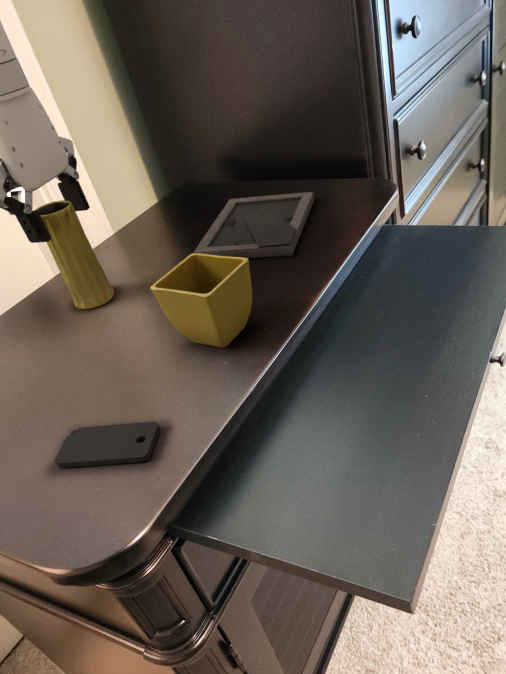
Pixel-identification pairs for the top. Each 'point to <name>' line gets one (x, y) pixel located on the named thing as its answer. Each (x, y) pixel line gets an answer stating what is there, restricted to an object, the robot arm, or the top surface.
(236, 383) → the top surface
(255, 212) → the picture frame
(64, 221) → the vase
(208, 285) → the flower pot
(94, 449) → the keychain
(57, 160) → the robot arm
